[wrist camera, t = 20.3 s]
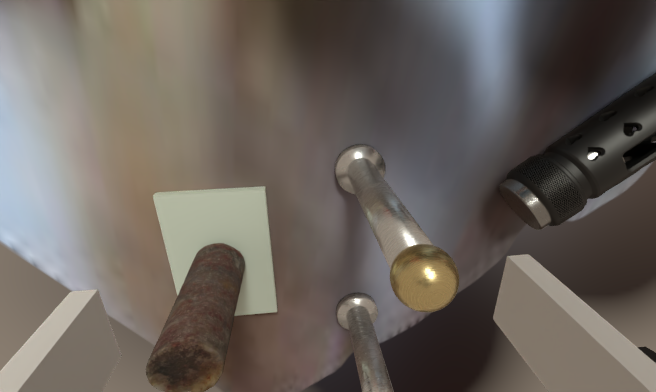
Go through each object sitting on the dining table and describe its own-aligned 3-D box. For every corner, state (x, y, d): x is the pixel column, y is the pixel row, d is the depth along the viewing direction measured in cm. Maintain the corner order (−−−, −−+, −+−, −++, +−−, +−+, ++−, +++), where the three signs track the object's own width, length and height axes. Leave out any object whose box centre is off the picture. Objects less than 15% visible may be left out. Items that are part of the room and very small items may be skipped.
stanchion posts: (336, 326, 60) (372, 529, 35) (334, 145, 47) (390, 261, 22) (375, 322, 61) (437, 519, 35) (383, 143, 48) (494, 252, 22)
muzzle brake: (673, 102, 50) (762, 114, 41) (508, 212, 55) (554, 246, 45) (658, 46, 47) (752, 46, 37) (483, 170, 51) (527, 197, 42)
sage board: (185, 315, 56) (183, 320, 55) (156, 192, 47) (152, 196, 46) (277, 306, 57) (277, 312, 56) (265, 186, 48) (264, 189, 47)
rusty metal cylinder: (205, 230, 49) (156, 339, 31) (253, 246, 51) (234, 358, 32) (189, 271, 51) (134, 395, 33) (236, 285, 53) (209, 409, 35)
